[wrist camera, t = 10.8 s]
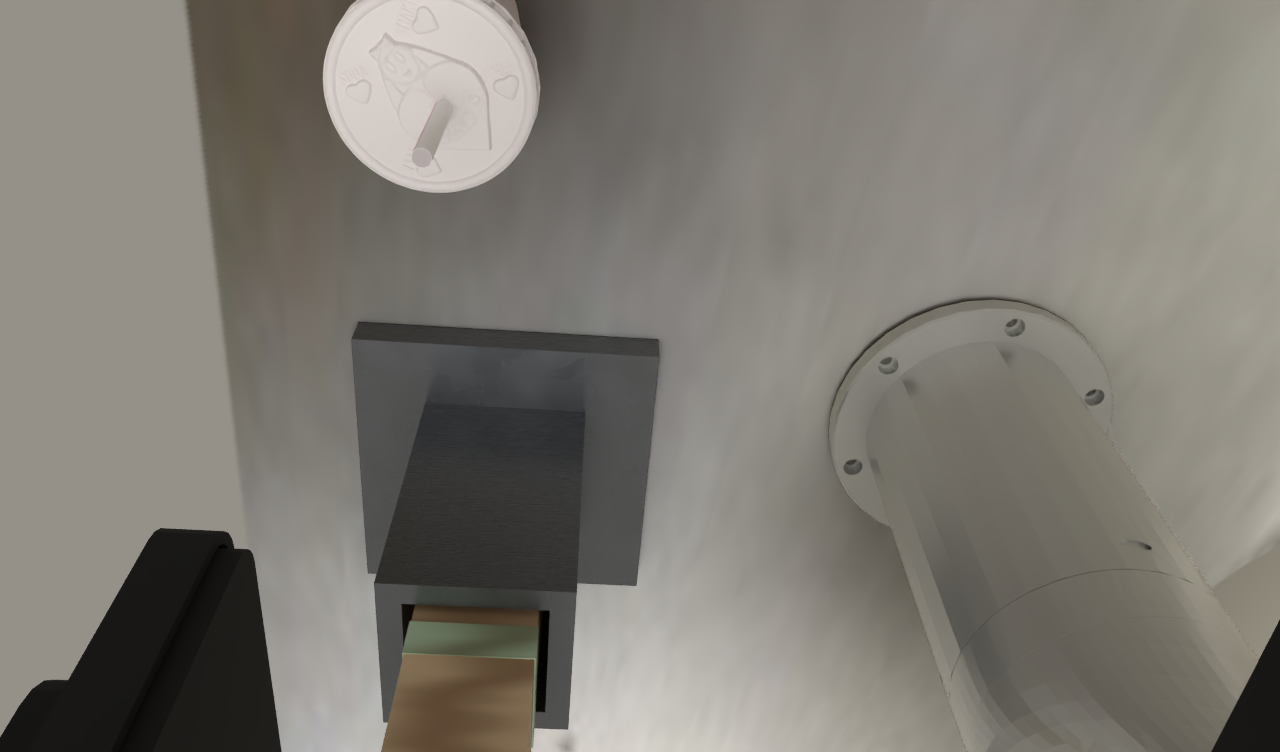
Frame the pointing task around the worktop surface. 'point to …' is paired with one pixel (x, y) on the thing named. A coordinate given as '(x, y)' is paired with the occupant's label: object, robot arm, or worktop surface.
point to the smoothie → (432, 89)
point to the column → (466, 681)
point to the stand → (500, 478)
